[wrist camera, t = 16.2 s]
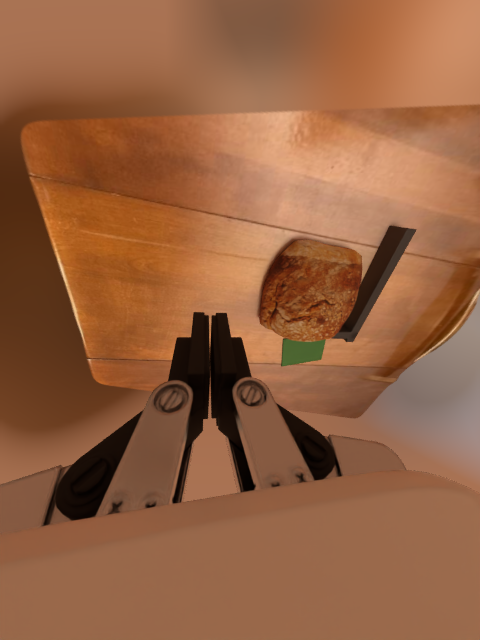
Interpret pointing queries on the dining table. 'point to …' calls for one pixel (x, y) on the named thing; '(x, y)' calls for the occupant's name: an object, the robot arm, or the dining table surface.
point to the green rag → (301, 351)
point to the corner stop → (376, 279)
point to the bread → (310, 291)
